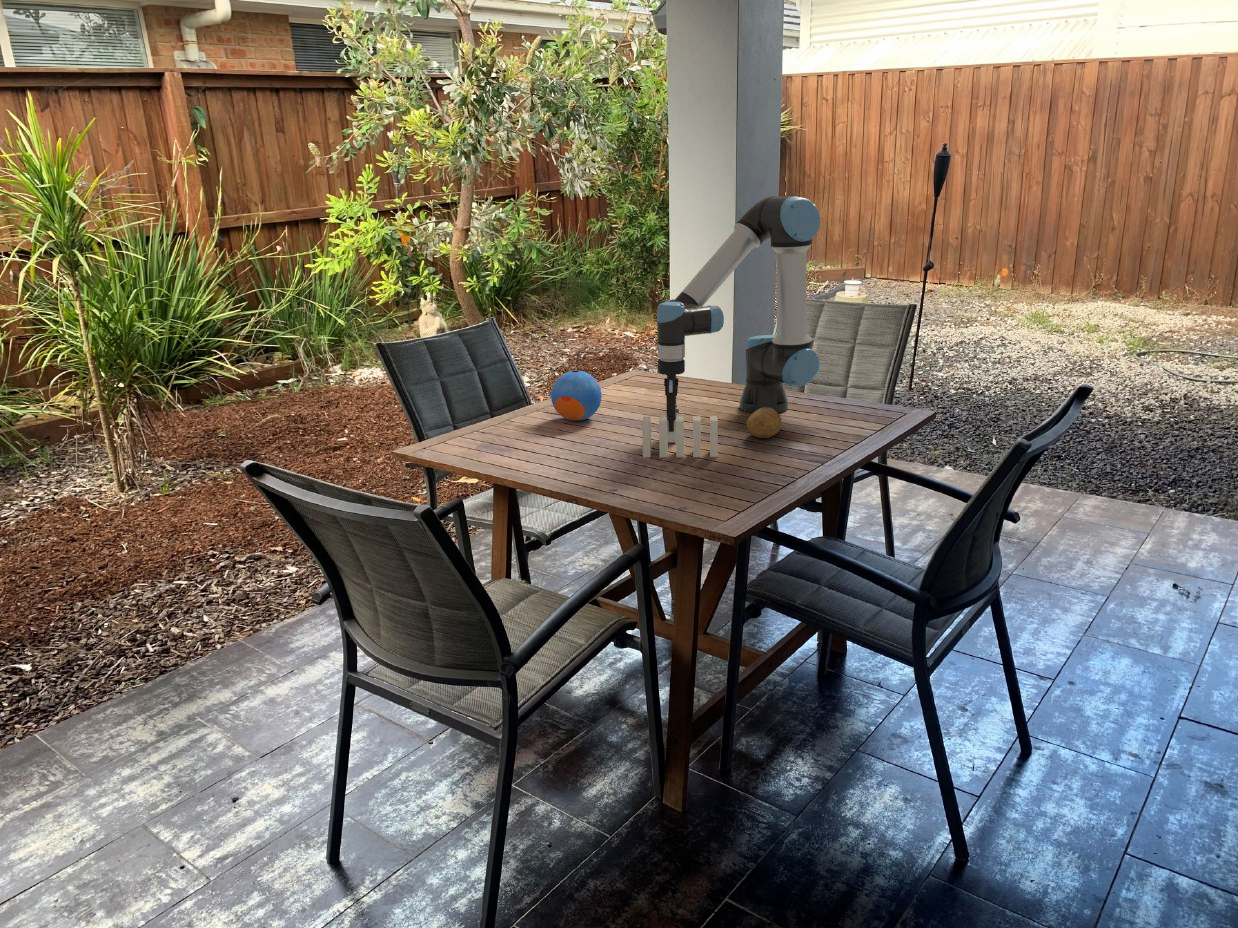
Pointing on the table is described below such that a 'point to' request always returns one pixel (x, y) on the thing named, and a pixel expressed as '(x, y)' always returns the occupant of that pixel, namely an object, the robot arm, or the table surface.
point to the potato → (764, 423)
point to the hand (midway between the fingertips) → (671, 438)
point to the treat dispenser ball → (576, 395)
